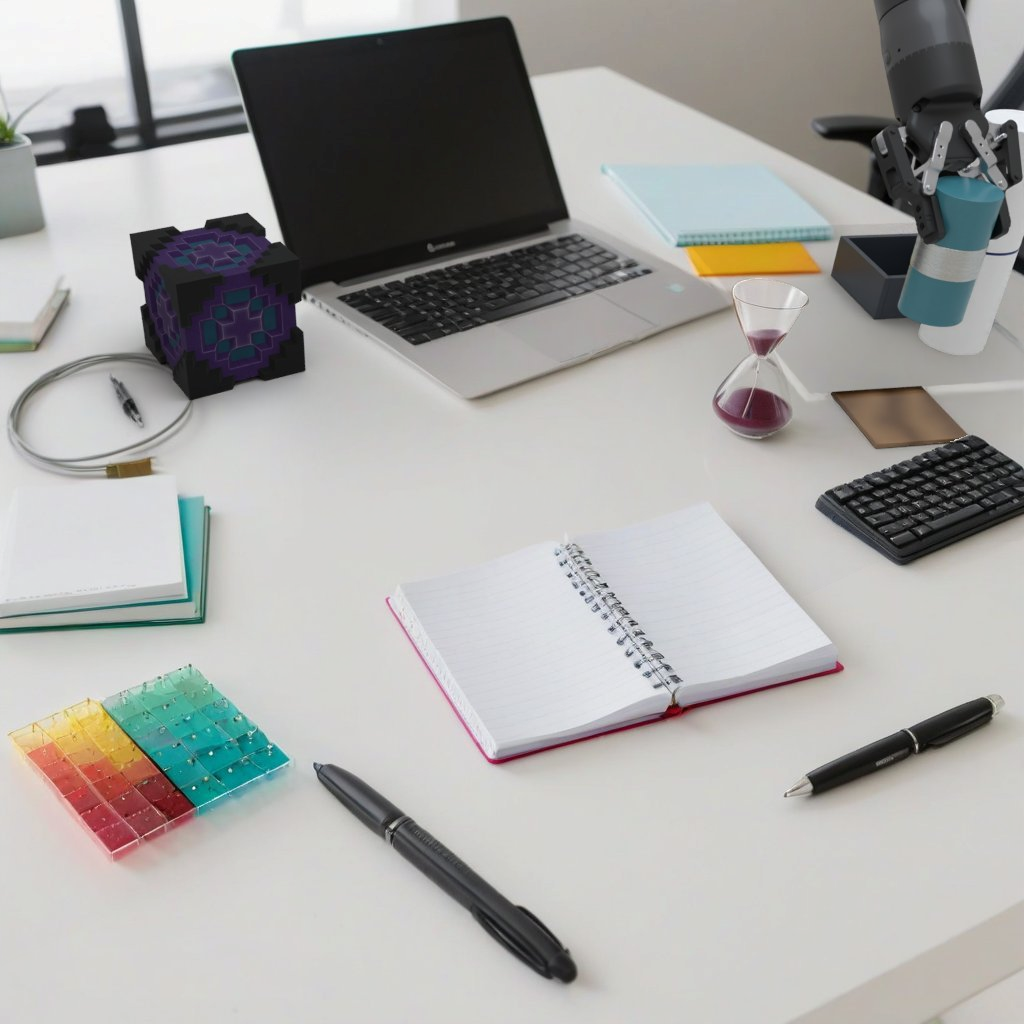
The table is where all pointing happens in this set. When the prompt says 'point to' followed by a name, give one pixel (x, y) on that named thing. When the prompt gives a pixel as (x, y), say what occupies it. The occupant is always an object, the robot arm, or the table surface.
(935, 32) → the robot arm
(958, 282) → the can
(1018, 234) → the cylindrical container
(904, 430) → the coaster
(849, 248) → the tub
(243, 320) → the energy cube
